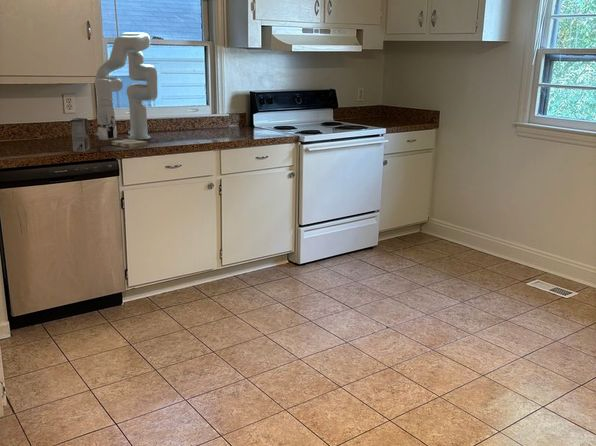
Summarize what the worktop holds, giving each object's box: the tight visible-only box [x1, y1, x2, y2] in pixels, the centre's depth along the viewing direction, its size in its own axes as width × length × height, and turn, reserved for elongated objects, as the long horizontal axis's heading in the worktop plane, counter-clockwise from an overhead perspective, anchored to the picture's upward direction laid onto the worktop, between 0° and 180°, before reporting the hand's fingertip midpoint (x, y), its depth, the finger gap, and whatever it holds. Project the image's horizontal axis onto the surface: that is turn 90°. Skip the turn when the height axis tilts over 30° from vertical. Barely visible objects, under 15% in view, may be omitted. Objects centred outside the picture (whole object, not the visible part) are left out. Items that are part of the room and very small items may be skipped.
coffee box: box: [70, 117, 91, 153], centre depth 310 cm, size 9×6×16 cm
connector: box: [93, 125, 118, 141], centre depth 319 cm, size 4×12×6 cm, turn 142°
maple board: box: [111, 138, 149, 149], centre depth 332 cm, size 16×12×2 cm
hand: (107, 137), depth 320 cm, fingers closed on connector, 4 cm apart
